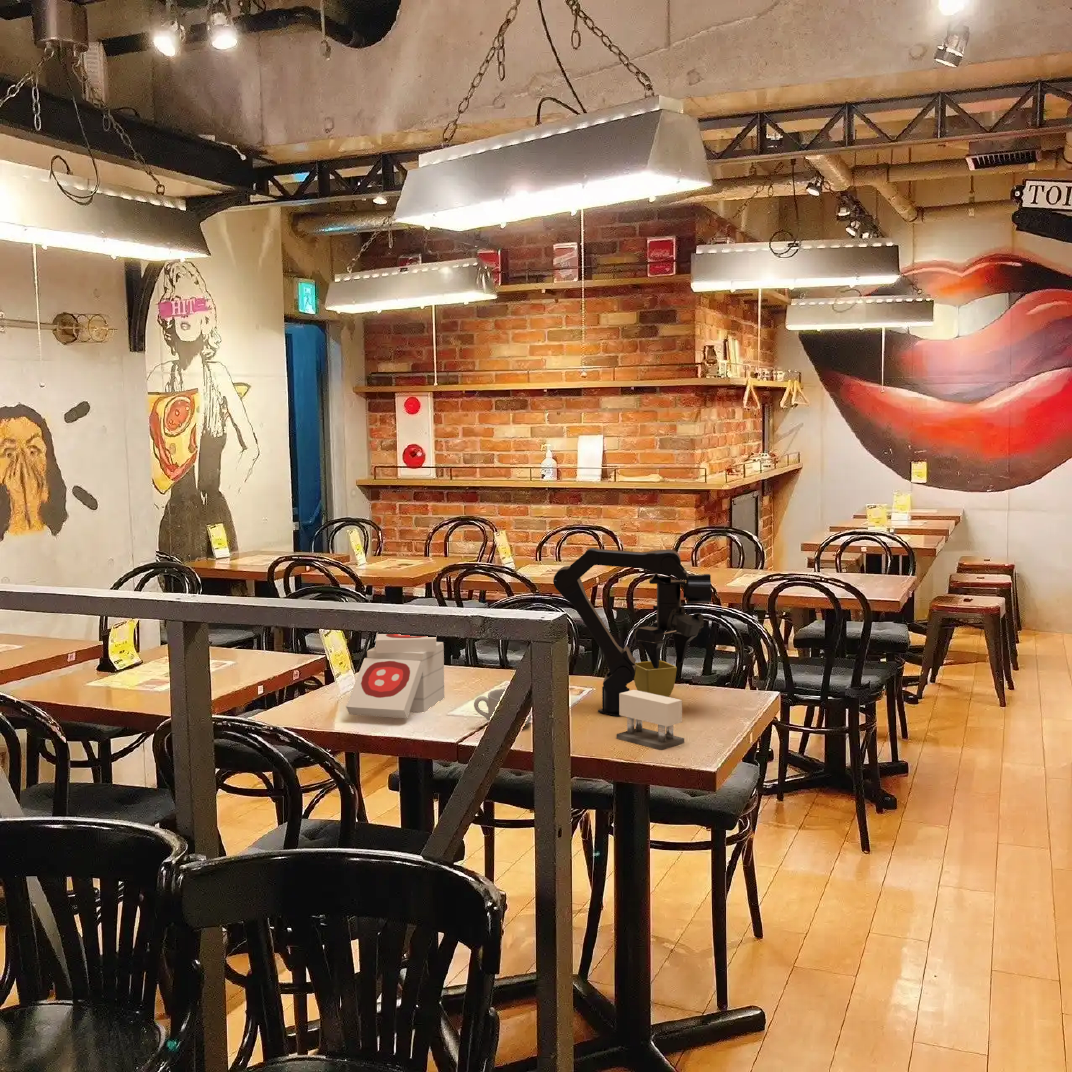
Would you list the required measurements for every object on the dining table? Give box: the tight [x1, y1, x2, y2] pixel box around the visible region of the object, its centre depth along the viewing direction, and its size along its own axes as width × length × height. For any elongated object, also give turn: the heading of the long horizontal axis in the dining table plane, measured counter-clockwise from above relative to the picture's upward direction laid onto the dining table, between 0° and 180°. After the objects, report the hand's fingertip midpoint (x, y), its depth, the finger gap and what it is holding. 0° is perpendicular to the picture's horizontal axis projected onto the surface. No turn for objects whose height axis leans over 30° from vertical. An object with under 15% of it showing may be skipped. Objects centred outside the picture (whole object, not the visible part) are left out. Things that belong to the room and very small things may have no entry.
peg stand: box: [616, 717, 685, 751], centre depth 252 cm, size 13×8×5 cm, turn 44°
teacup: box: [473, 687, 532, 725], centre depth 265 cm, size 14×11×8 cm
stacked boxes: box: [345, 633, 445, 719], centre depth 281 cm, size 19×30×18 cm, turn 165°
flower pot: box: [633, 659, 678, 697], centre depth 290 cm, size 9×9×9 cm
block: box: [619, 689, 683, 727], centre depth 252 cm, size 14×5×5 cm, turn 44°
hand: (668, 665), depth 274 cm, fingers open, 9 cm apart
